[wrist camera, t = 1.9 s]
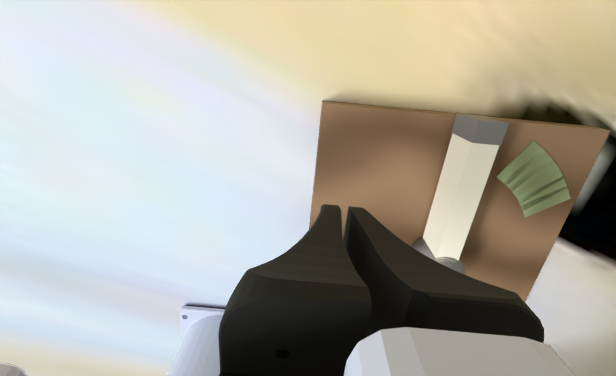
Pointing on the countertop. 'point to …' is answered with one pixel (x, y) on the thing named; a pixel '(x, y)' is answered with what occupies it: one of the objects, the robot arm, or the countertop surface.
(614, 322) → the countertop surface
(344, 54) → the countertop surface
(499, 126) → the dial lever
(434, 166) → the dial board
